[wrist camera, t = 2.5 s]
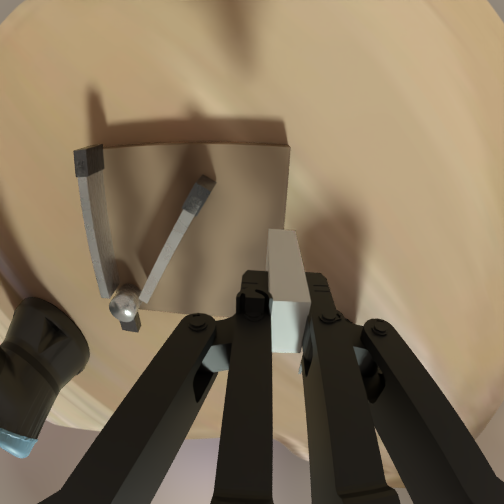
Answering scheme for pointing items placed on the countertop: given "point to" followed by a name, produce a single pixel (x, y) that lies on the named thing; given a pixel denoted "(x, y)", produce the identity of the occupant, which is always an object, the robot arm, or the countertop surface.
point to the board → (201, 227)
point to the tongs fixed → (103, 237)
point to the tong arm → (178, 232)
